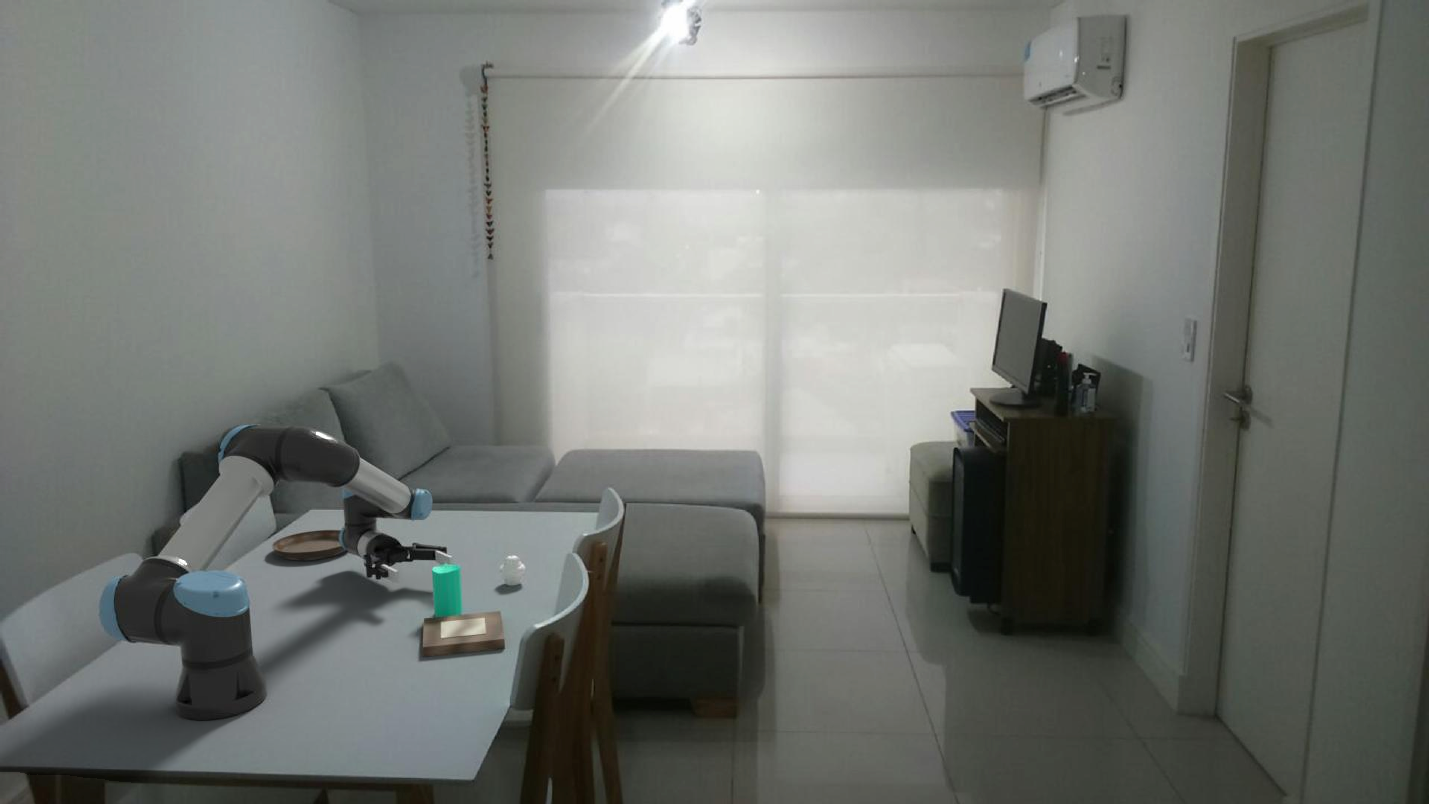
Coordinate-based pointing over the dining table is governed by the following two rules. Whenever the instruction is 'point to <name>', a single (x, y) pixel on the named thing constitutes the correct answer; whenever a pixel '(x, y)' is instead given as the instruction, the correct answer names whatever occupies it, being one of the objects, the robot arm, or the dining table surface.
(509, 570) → the white rounded piece
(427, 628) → the plinth
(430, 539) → the dining table surface
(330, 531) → the plant saucer
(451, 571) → the candle
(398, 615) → the dining table surface
